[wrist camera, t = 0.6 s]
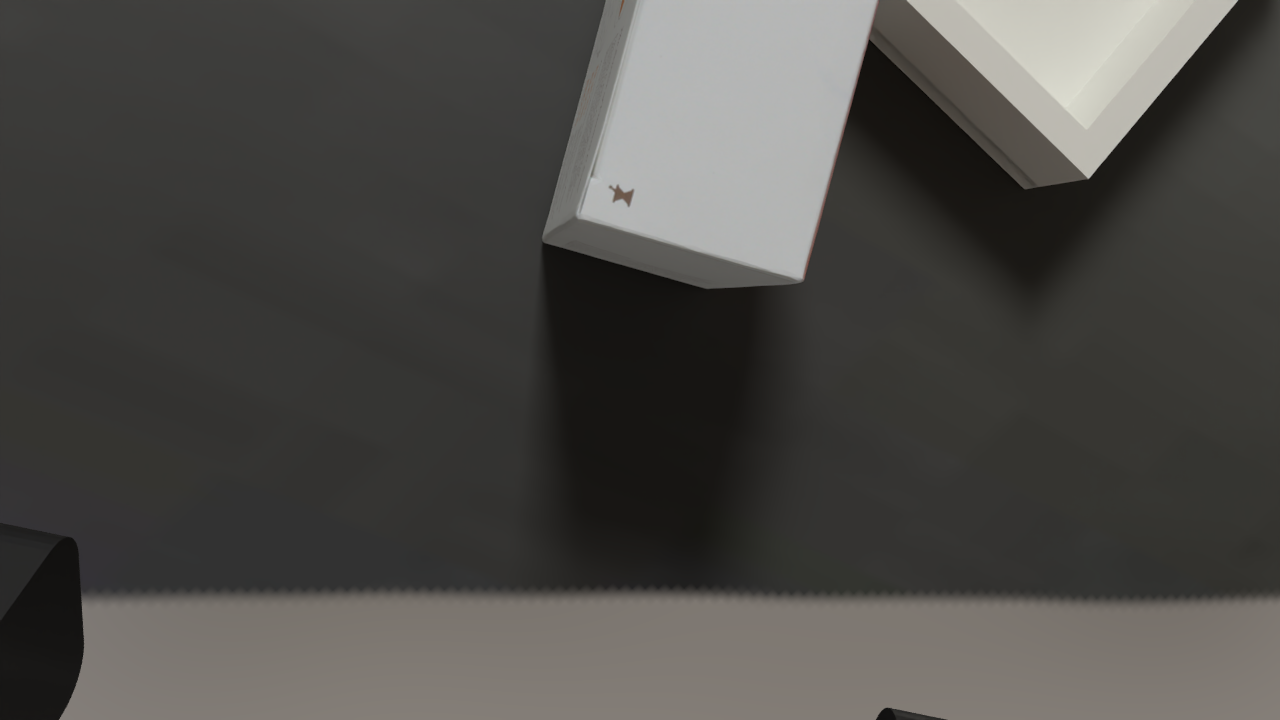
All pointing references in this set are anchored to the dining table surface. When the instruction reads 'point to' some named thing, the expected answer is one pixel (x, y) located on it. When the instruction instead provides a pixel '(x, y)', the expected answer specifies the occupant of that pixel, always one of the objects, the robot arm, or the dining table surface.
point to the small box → (710, 136)
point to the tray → (1044, 71)
